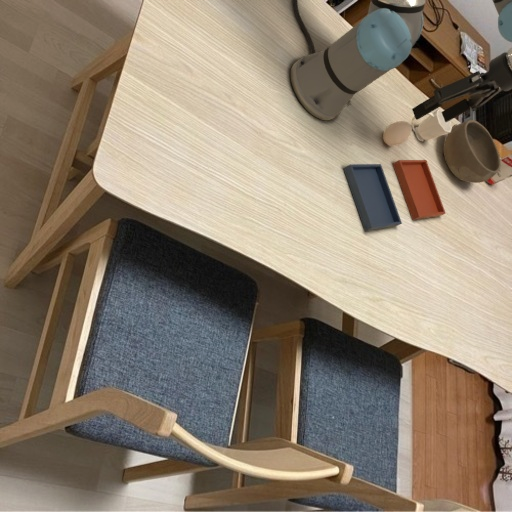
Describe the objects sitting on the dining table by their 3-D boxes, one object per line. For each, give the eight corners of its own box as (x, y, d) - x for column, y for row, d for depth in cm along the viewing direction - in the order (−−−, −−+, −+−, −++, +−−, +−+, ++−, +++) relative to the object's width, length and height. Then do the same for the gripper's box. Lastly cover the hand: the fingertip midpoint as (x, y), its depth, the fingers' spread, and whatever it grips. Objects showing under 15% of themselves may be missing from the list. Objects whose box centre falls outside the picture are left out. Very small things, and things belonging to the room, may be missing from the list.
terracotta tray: (392, 163, 144) (399, 160, 142) (419, 163, 153) (426, 159, 152) (412, 220, 142) (419, 217, 140) (439, 216, 151) (445, 213, 149)
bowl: (432, 124, 165) (463, 107, 158) (467, 149, 175) (497, 134, 168) (437, 175, 158) (470, 159, 150) (474, 198, 167) (506, 184, 160)
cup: (427, 150, 158) (452, 137, 152) (404, 132, 153) (430, 118, 147) (426, 131, 161) (451, 117, 156) (404, 112, 156) (429, 97, 151)
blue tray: (343, 168, 130) (350, 164, 128) (374, 167, 138) (381, 164, 136) (364, 231, 127) (372, 227, 126) (394, 226, 136) (402, 223, 134)
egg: (388, 132, 148) (413, 117, 142) (393, 151, 146) (419, 137, 141) (375, 128, 144) (401, 113, 138) (380, 148, 143) (406, 134, 137)
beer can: (486, 186, 175) (537, 164, 164) (478, 167, 176) (528, 144, 165) (494, 184, 180) (544, 162, 168) (486, 165, 180) (536, 143, 169)
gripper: (495, 76, 111) (407, 128, 127) (543, 87, 128) (460, 131, 144) (482, 42, 113) (395, 97, 128) (531, 57, 130) (449, 104, 145)
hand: (429, 115), depth 136 cm, fingers open, 13 cm apart
